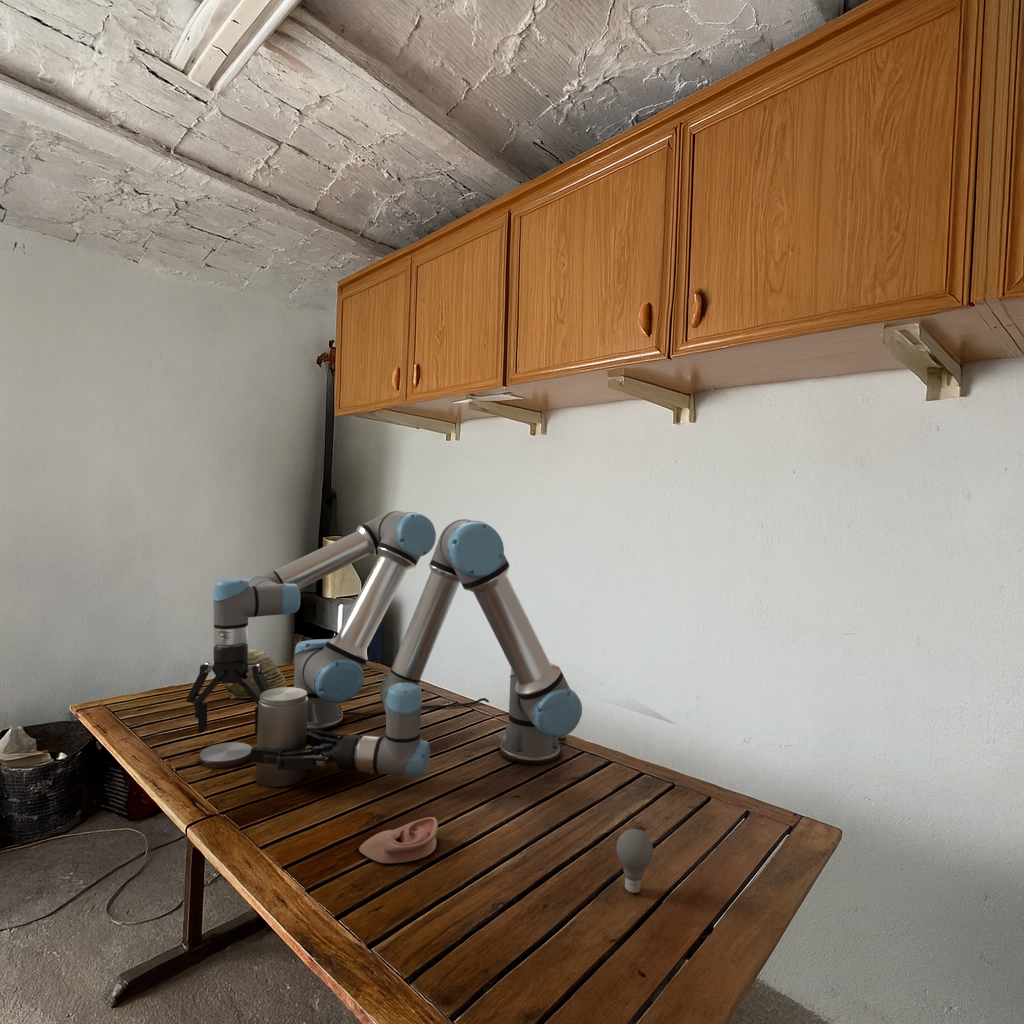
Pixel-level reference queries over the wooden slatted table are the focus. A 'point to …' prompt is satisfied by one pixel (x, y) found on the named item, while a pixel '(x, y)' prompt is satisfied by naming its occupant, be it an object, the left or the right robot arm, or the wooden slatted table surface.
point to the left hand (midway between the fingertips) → (230, 732)
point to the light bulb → (634, 857)
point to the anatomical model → (403, 842)
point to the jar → (281, 732)
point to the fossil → (268, 670)
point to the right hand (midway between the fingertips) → (264, 745)
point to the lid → (225, 755)
